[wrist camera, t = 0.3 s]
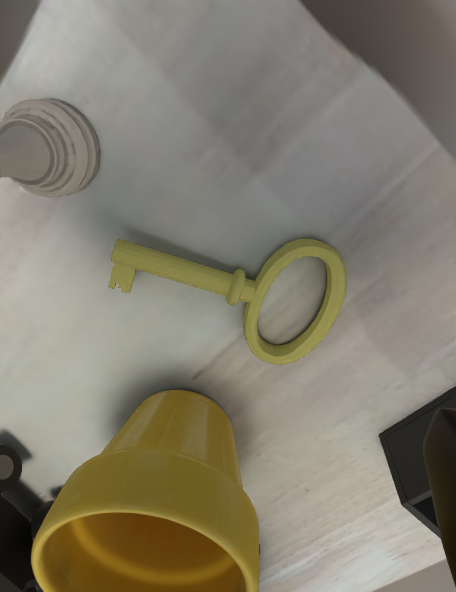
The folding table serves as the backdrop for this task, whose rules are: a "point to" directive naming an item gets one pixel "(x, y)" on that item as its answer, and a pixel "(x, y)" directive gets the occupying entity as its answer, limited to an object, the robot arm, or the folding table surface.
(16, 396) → the folding table surface
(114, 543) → the flower pot
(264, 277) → the key
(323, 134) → the folding table surface
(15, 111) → the chess piece
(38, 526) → the toy vehicle
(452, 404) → the bin
